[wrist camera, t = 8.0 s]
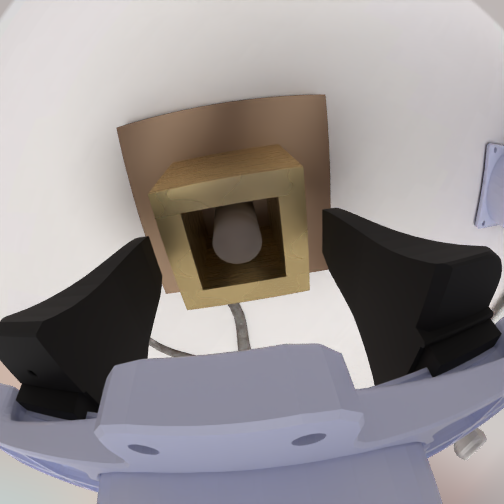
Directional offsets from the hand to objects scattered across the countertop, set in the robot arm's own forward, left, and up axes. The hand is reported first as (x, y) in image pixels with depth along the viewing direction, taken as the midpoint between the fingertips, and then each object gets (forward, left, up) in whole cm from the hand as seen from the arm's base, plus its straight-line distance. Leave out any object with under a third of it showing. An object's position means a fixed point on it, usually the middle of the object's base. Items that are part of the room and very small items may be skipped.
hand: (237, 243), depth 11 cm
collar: (0, 0, -4) cm, 5 cm away
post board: (0, 0, -6) cm, 6 cm away
